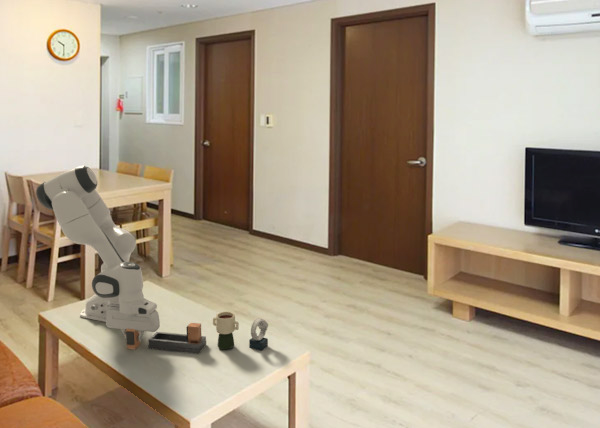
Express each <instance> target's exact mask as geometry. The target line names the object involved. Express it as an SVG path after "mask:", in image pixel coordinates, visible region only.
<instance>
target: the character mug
mask: <svg viewBox="0 0 600 428" xmlns="http://www.w3.org/2000/svg"><path fill="white" fill-rule="evenodd" d="M212 325H213V326H215V327H216V332H217V334H218V337H217V338H218V339H217V347H218V348H219V349H220V350H228V349H232V348H234V347H235V339H234V334H233V332H235V330H236V331H238V330H239V327H240V326H239V325H240V324H239V321H236V314H235V313H234V312H232V311H221V312H218V313H217V314H216V315H215V316H214V317H212Z"/></svg>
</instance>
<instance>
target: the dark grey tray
mask: <svg viewBox="0 0 600 428" xmlns="http://www.w3.org/2000/svg"><path fill="white" fill-rule="evenodd" d="M185 328H186V334H183V333H176V332H175V333H173V332H167V331H166V332H163V331H155V332H154V333H153V334H152V335H151V336H150V337H149V338H148V344H147V349H149V350H155V351H156V350H158V351H166V352H175V353H184V354H185V353H186V354H194V355H200V353H201V352H202V351H203V349H204V348H205V347H206V346H207V338H206V337H207V336H204V335H202V323H198V322H190V323H189V324H188V325H187V326H186V327H185Z"/></svg>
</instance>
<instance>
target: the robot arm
mask: <svg viewBox="0 0 600 428" xmlns="http://www.w3.org/2000/svg"><path fill="white" fill-rule="evenodd" d="M36 187H37V188H36V193H35V194H36V197H37V199H38V201H39V203H40V204H41V206H43V207H44V208H45V209H48V210H52V211H53V213H54V215H55V219H56V222H57V223H58V225H59V227H60V229H61V231H62V233H63V234H64V236H65V237H66V238H67V239H68V241H70V242H71V243H74V244H77V245H86V246H89V247H91V248H93V249H94V250H95V251H96V253H97V254H98V256H99V258H101V260H102V262H103V263H102V264H101V266H100V272H99V273H98V274H96V275H95V276H94V277H93V278H92V280H91V289H92V290H93V292H94V294H93V295H92V296H91V297H90V298H88V299H87V300H86V303H85V308H83V309H82V310H81V312H80V313H79V317H81V318H83V319H89V320H94V321H99V322H104V323H105V326H106V327H107V328H109V329H115V330H116V329H118V330H121V333H122V334H123V336H124V340H125V341H127V339H126V329H135V330H136V331H139V333H140V334H139V335H138V336H137V337H136V341H140V342H141V341H142V340H143V334H144V333H145V332H148V333H156V332H158V330H159V329H160V325H161V323H160V322H161V321H160V314H159V312H158V311H157V310H156V309H157V307H158V305H157V303H155V302H153V301H151V300H149V299H147V298H145V296H144V292H143V289H144V278H143V272H142V268H141V267H140V265H139V264H138V263H136V262H133V261H130V258H131V255H132V253H133V252H134V250H135V248H136V245H137V241H136V238H135V237H134V235H133V234H132V233H131V232H130V231H128V230H126V229H123V228H122V227H119V226H117V224H115V222H114V221H113V219H112V216H111V210H110V209H109V207H108V206H107V204H106V203H105V201H104V200H103V198H102V197H101V195H100V194H99V193H98V192H97V190H96V189H97V187H98V179H97V177H96V174H95V172H94V171H93V170H92V169H91V168H90V167H88V166H86V165H80V166H76V167H75V168H73V169H69V170H66V171H63V172H61V173H59V174H58V175H56V176H54V177H52V178H50V179H48V180H47V181H44V182H42V183H40V184H39V185H38V186H36Z"/></svg>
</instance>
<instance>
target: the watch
mask: <svg viewBox="0 0 600 428" xmlns="http://www.w3.org/2000/svg"><path fill="white" fill-rule="evenodd" d="M268 327H269V323H268V322H267V321H266V320H264V318H256V319H255V320H254V321H253V322H252V324H251V329H250V336H251V338H250V339H249V343H248V344H249V348H251V349H253V348H254V349H253V350H257V349H258V351H264V350H265V349H267V347H268V346H269V345H268V343H269V339H268V338H266V337H265V335H266V332H267V331H268ZM257 328H259V330H260V331H259V334H257ZM264 348H265V349H264Z"/></svg>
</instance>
